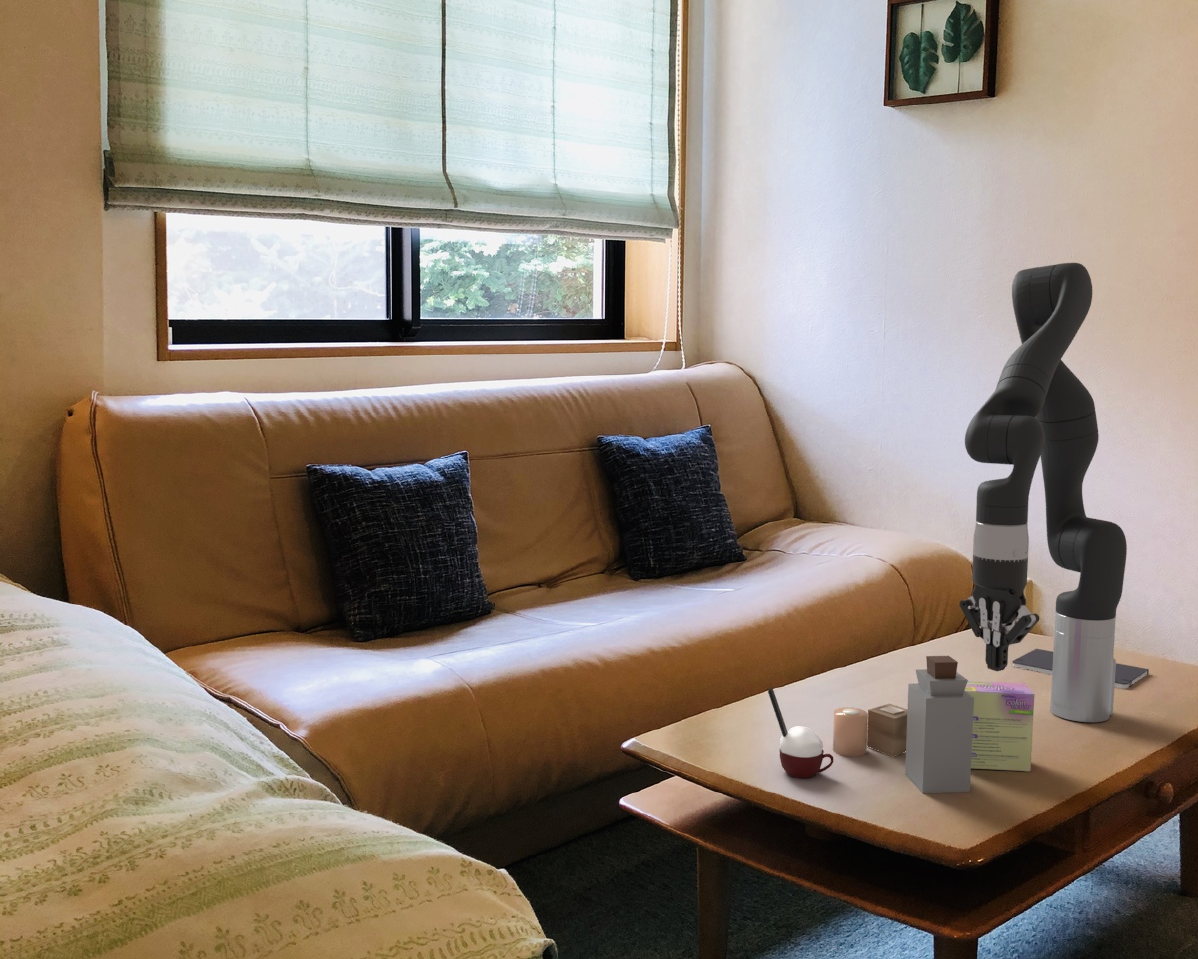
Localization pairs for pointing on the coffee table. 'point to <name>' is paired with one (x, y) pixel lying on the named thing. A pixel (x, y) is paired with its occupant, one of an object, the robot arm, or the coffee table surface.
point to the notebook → (1044, 664)
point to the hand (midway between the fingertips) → (996, 669)
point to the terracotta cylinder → (850, 732)
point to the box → (1001, 725)
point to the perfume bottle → (939, 728)
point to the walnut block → (887, 729)
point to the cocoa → (799, 747)
